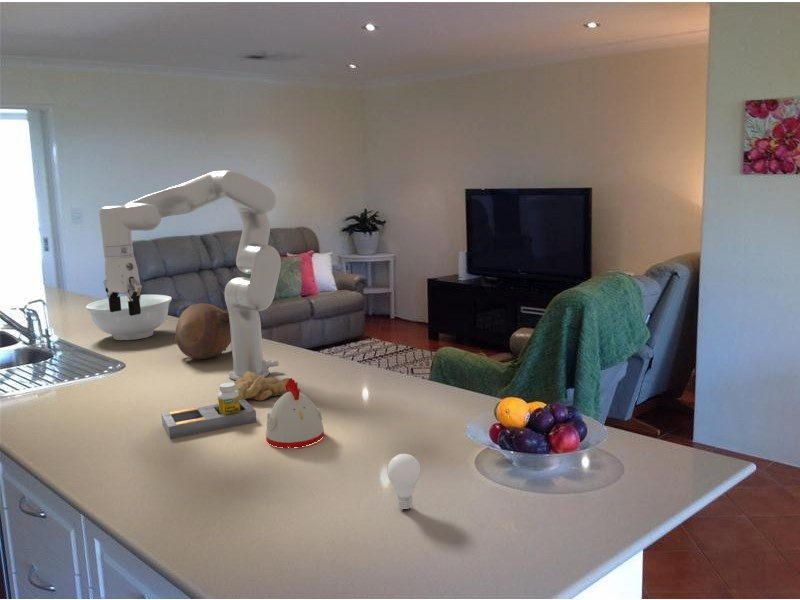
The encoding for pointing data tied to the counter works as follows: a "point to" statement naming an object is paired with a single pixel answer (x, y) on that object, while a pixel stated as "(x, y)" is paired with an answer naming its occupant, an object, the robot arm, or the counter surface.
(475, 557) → the counter surface
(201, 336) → the brown round lump
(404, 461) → the lightbulb
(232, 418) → the cinder block
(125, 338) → the bowl
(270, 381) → the ginger root
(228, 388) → the supplement bottle
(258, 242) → the robot arm
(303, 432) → the kitchen timer
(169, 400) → the counter surface
